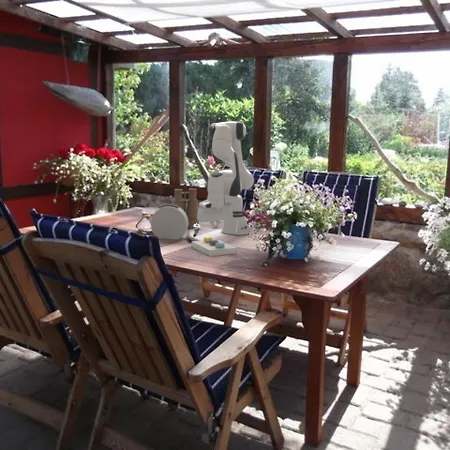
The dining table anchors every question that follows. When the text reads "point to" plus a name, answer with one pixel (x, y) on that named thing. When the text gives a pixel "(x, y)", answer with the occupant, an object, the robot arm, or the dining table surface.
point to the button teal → (220, 245)
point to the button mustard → (207, 239)
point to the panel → (213, 248)
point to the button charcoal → (213, 242)
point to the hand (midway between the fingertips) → (215, 228)
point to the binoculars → (188, 205)
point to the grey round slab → (169, 222)
